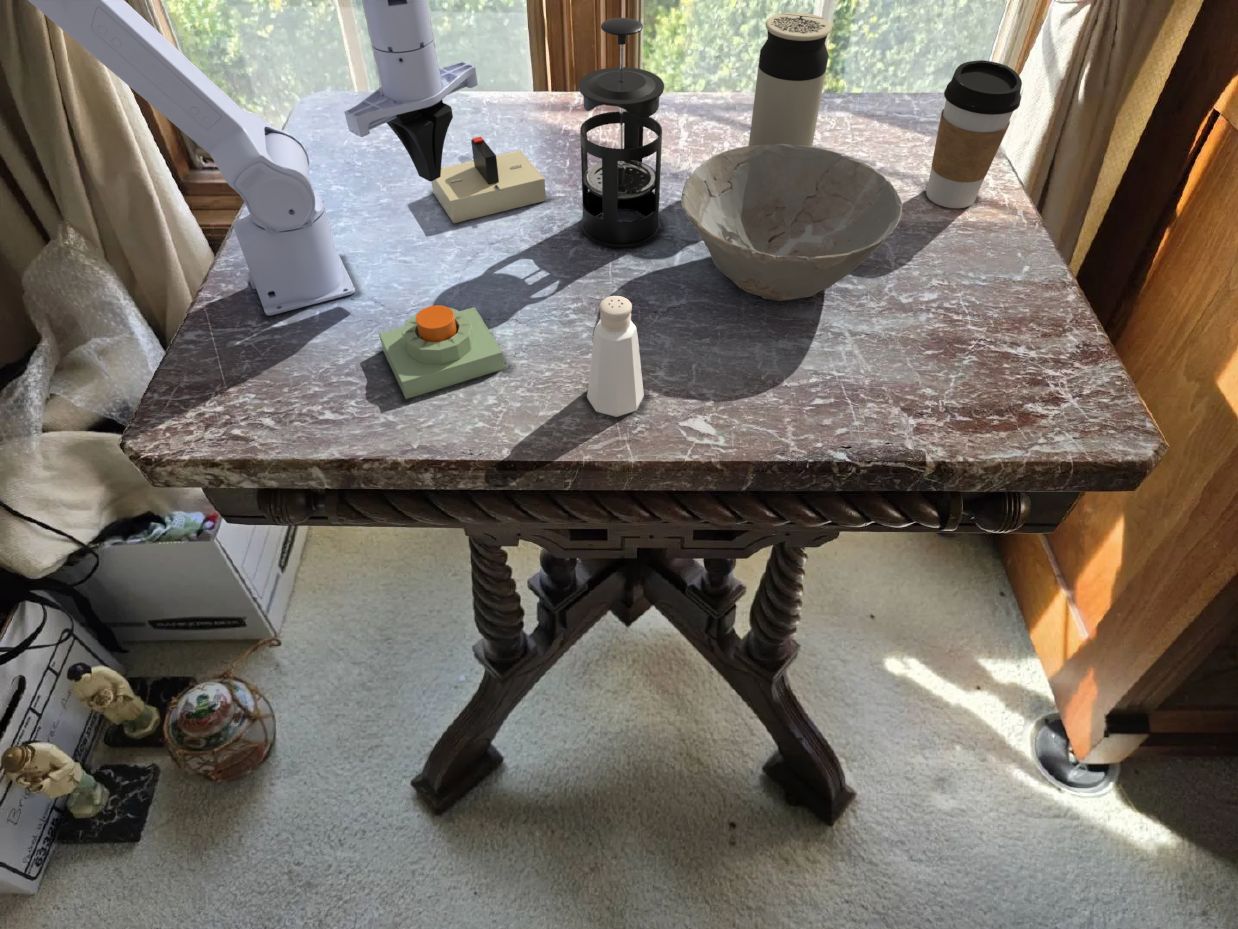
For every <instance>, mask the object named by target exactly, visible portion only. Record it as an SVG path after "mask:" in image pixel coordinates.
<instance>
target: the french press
mask: <svg viewBox="0 0 1238 929" xmlns="http://www.w3.org/2000/svg"><path fill="white" fill-rule="evenodd" d="M643 28H644V25H643V23H642V22H641V21H639V20H637V19H634V18H630V17H614V18H610V19H606V20H605V21H603V22H602V23H601V25H600V29H601V30H602V31H603V32H604V33H606V34H609V35H613V36H616V43H617V44H618V45H619V66H615V67H605V68H600V69H597V70H594V71H591V72H589V73H587V74H586V75H584V76H583V77H582V78H581V79H580V81H579V82H578V90H579V93H580V95H581V96H582V99H583V108H584V111H586V112H590V111H592V110H594V109H595V108H597V107H599V106H609V107H618V108H619V110H618V111H608V112H601V113H598V114H595V115H593V116H591V117H588V118H587V119H586V120H584V122H583V123H581V126H580V130H579V134H580V135H579V138H580V142H579V143H580V162H581V163H580V164H581V197H582V200H581V201H582V202H581V203H582V204H581V206H582V207H581V208H582V218H581V221H580V229H581V232H582V234H583V235H584V237H585V238H586V239H587V240H589V241H590V242H591V243H593V244H595V245H598V246H601V247H604V248H608V249H619V250H621V249H622V250H623V249H625V250H626V249H634V248H637V247H641V246H644V245H646V244H648V243H650V242H651V241H653V240H654V239H655V238H656V237H657V236H658V235H659V233H660V229H661V221H660V219H659V218H660V217H659V216H660V214H659V213H660V192H661V190H660V189H661V168H662V149H663V148H662V147H663V146H662V144H663V128H662V125H661V124H660V123H659V121H658V120H656V119H654V118H652V117H651V116H653V115H654V114H656V113H657V112H658V111H659V108H660V97H661V96H662V95H663V94H664V91H665V82H664V81H663V79H662V78H661V77H660V76H658V75H657V74H655V73H654V72H652V71H649V70H645V69H641V68H635V67H628V66H624V45H626V44H627V36H632V35H636V34H638V33H640V32H641V31H642V30H643ZM614 124H619V142H618V143H619V147H618V148H617V147H616V148H615V147H607V146H602V145H599V144H596V143H594V142H592V141H590V140H589V139H588V133H589V132H590V131H592V130H594V129H596V128H599V127H602V126H606V125H614ZM644 128H646V129H647V130H650V131H652V132H653V133H654V134H655V135H656V136H657V137H656V138H655V139H654V140H653V141H650V142H649V143H647V144H644ZM588 154H589V155H591V156H593V157H595V158H597V159H601V162H597V163H595V164H594V165H593V164H592V165H591V166H590V167H589V164H588V162H589V161H588ZM654 154H655V169H654V168H653V167H651V166H650V165H649V164H646V163H644V162H643V159H645V158H648V157H650V156H652V155H654ZM619 210H624V211H631V212H635V213H637V214H640V215H641V216H643V217H641V218H638V219H633V220H625V221H619V219H618V216H619V215H618V214H619V212H618V211H619ZM599 215H602V218H601V217H598V216H599Z"/></svg>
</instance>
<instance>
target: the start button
mask: <svg viewBox="0 0 1238 929" xmlns="http://www.w3.org/2000/svg"><path fill="white" fill-rule="evenodd" d="M450 308H451V307H447V306H445V305H437V304H435V305H430V306H427V307H426V306H425V307H424V308H422V309H421V310H419V311H418V312H417V313H418V314H417V313H416V314H417V316H416V323H417V328H418V332H419V336H420V337H421V338H422V339H423V340H424V341H427V342H441V341H445V340H448V339H450V338H451V337H453V336H454V335H455V333H456V323H455V317H454V313H453V311H452V310H451V309H450Z"/></svg>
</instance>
